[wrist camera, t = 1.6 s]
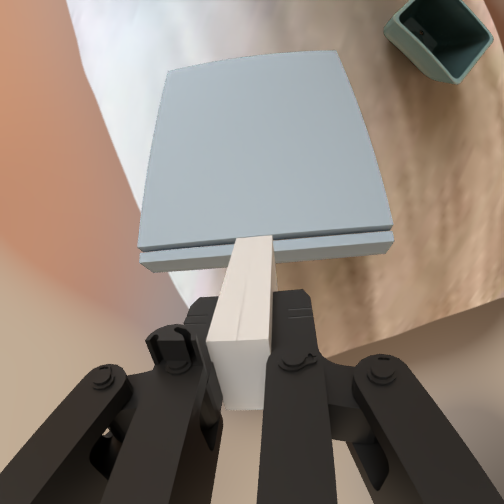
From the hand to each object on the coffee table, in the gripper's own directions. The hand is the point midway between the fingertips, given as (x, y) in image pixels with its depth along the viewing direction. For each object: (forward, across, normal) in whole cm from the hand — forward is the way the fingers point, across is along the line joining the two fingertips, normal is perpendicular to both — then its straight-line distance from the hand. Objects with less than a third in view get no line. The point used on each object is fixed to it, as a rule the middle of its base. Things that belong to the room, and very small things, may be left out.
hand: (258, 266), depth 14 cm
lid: (+11, 0, +4) cm, 11 cm away
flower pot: (+24, +19, +15) cm, 34 cm away
